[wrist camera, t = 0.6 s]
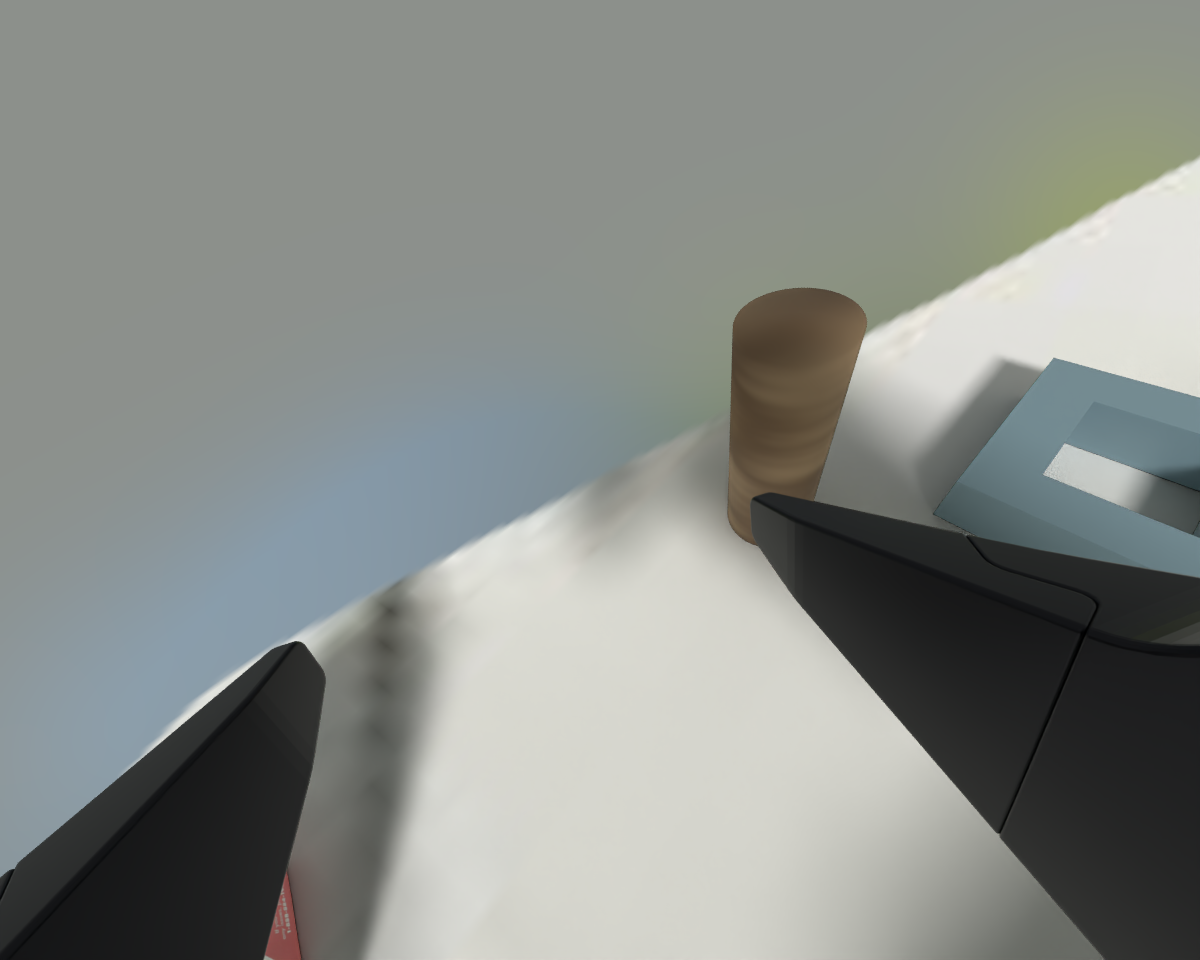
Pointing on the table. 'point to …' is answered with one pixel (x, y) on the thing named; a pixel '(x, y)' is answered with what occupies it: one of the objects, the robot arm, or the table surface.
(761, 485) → the walnut peg
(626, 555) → the table surface
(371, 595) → the table surface
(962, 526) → the socket block
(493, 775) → the table surface
